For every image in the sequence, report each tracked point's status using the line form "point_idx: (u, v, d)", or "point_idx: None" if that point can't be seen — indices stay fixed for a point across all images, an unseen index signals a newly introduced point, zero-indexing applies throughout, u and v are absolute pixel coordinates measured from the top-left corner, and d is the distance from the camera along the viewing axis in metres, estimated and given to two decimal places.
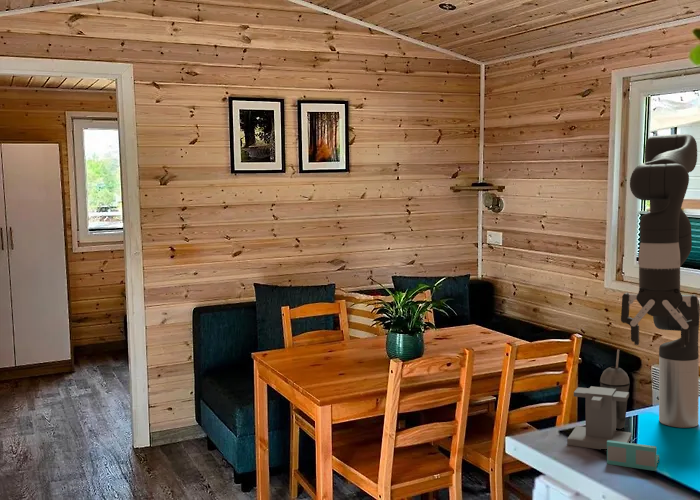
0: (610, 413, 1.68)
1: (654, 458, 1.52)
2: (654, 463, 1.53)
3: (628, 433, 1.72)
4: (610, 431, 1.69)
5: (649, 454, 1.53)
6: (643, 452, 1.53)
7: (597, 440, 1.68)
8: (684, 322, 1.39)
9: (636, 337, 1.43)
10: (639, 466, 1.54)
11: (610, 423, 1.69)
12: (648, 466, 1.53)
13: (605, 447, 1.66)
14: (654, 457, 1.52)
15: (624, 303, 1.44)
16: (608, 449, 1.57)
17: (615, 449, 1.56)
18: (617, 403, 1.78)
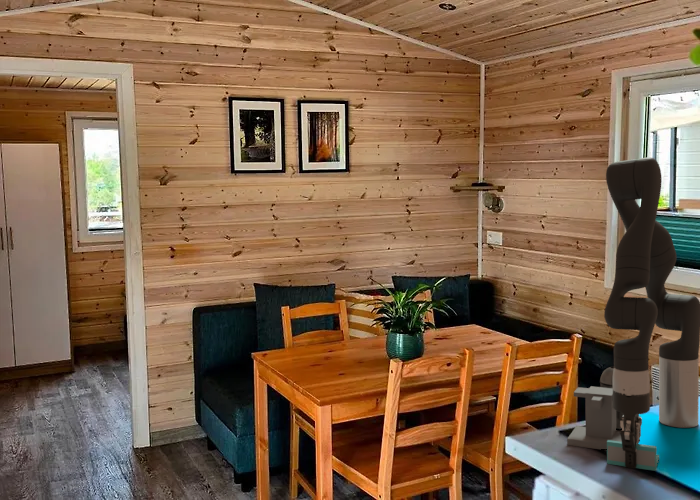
0: (610, 413, 1.68)
1: (654, 458, 1.53)
2: (654, 463, 1.53)
3: None
4: (610, 431, 1.69)
5: (649, 454, 1.53)
6: (643, 452, 1.54)
7: (597, 440, 1.68)
8: (638, 442, 1.56)
9: None
10: (639, 466, 1.54)
11: (610, 423, 1.69)
12: (648, 466, 1.53)
13: (605, 447, 1.66)
14: (654, 457, 1.52)
15: (633, 439, 1.50)
16: (608, 449, 1.57)
17: (615, 448, 1.56)
18: None
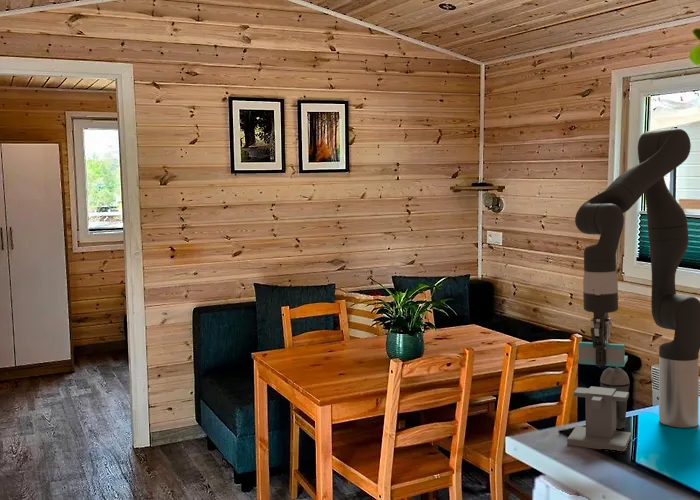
0: (610, 413, 1.68)
1: (622, 355, 1.62)
2: (622, 359, 1.62)
3: (628, 433, 1.72)
4: (610, 431, 1.69)
5: (617, 352, 1.63)
6: (612, 350, 1.63)
7: (597, 440, 1.68)
8: (607, 341, 1.66)
9: (605, 358, 1.64)
10: (608, 363, 1.64)
11: (610, 423, 1.69)
12: (617, 363, 1.63)
13: (605, 447, 1.66)
14: (622, 354, 1.62)
15: (603, 335, 1.59)
16: (580, 349, 1.67)
17: (586, 349, 1.66)
18: (617, 403, 1.78)
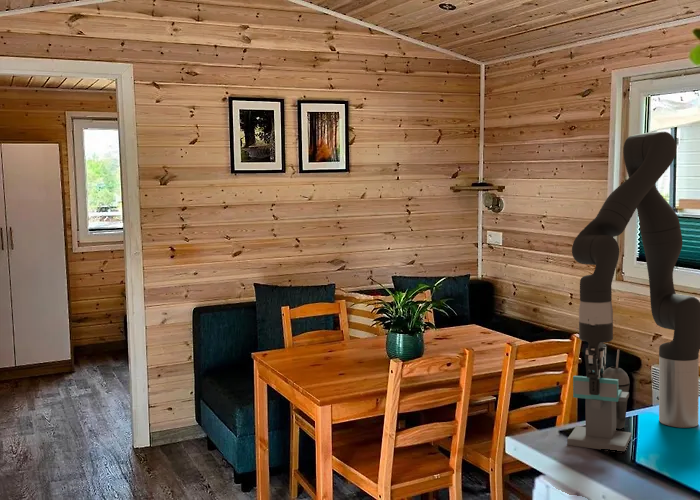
0: (610, 413, 1.68)
1: (616, 390, 1.64)
2: (616, 394, 1.65)
3: (628, 433, 1.72)
4: (610, 431, 1.69)
5: (611, 387, 1.65)
6: (606, 385, 1.65)
7: (597, 440, 1.68)
8: (603, 368, 1.69)
9: (599, 388, 1.65)
10: (602, 398, 1.66)
11: (610, 423, 1.69)
12: (611, 397, 1.65)
13: (605, 447, 1.66)
14: (616, 389, 1.64)
15: (596, 363, 1.61)
16: (574, 383, 1.69)
17: (581, 383, 1.68)
18: (617, 403, 1.78)
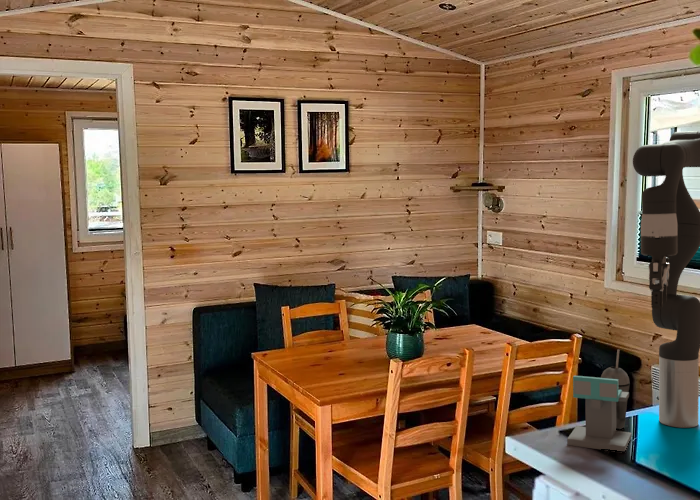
0: (610, 413, 1.68)
1: (616, 390, 1.64)
2: (616, 394, 1.65)
3: (628, 433, 1.72)
4: (610, 431, 1.69)
5: (611, 387, 1.65)
6: (606, 385, 1.65)
7: (597, 440, 1.68)
8: None
9: (662, 301, 1.56)
10: (602, 398, 1.66)
11: (610, 423, 1.69)
12: (611, 397, 1.65)
13: (605, 447, 1.66)
14: (616, 389, 1.64)
15: (661, 271, 1.54)
16: (574, 383, 1.69)
17: (581, 383, 1.68)
18: (617, 403, 1.78)
